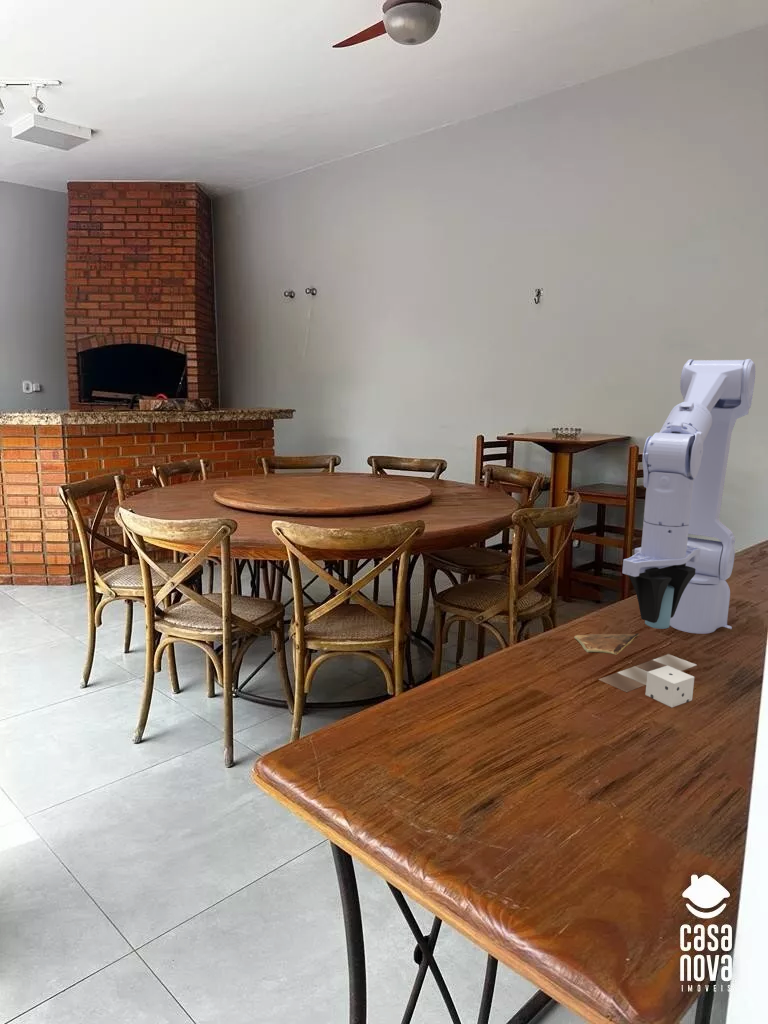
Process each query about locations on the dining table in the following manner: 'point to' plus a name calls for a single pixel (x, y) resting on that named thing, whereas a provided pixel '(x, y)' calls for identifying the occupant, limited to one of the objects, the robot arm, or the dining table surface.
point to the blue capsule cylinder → (664, 610)
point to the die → (669, 686)
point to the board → (643, 672)
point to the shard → (605, 642)
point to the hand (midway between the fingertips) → (657, 618)
